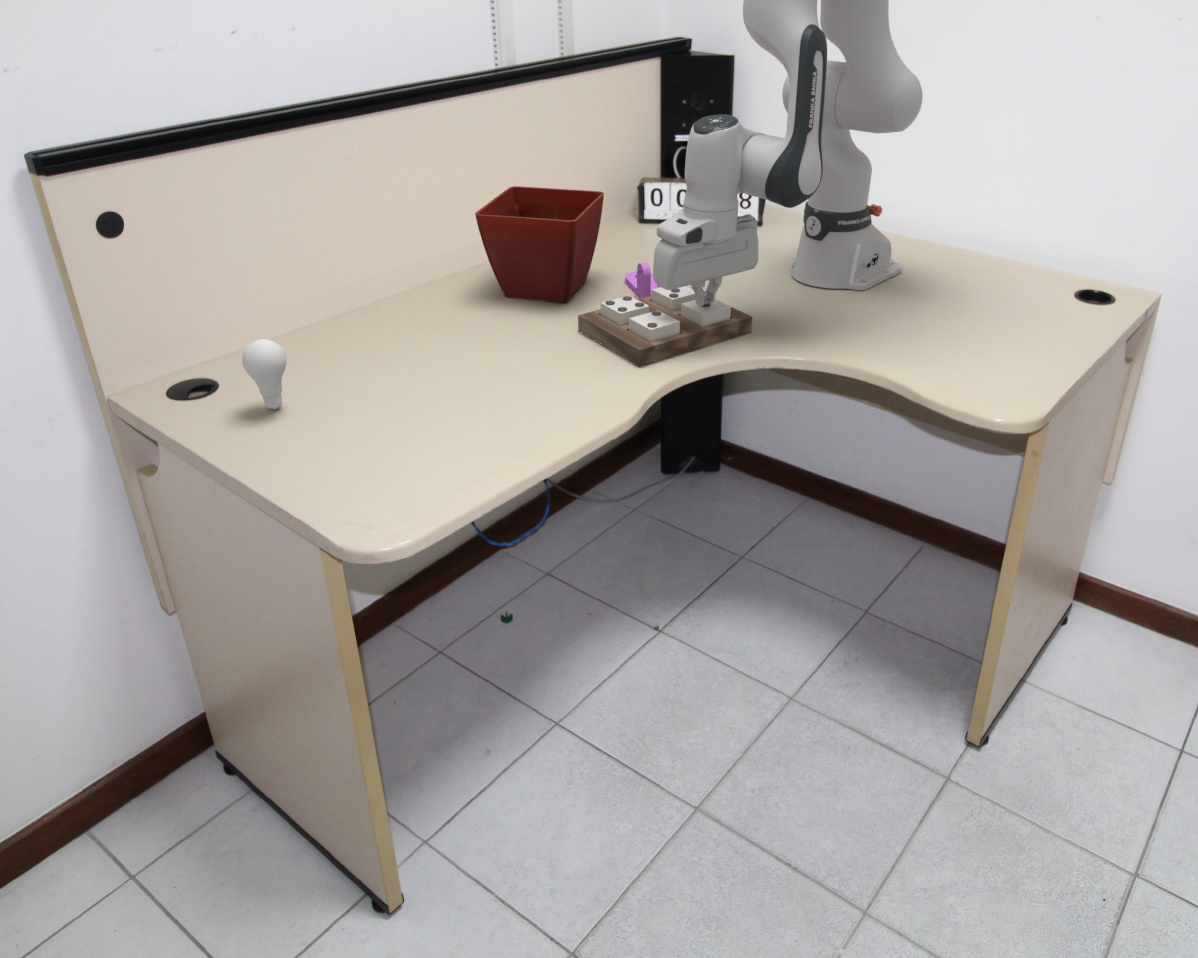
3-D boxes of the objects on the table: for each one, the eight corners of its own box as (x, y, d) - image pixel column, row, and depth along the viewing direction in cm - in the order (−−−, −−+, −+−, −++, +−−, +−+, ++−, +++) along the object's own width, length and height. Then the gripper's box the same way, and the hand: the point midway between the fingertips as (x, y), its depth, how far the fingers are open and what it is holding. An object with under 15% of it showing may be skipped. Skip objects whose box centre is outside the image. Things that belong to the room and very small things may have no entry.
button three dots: (677, 299, 175) (678, 281, 173) (698, 309, 170) (699, 291, 168) (651, 306, 172) (651, 288, 170) (671, 317, 167) (672, 298, 166)
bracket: (671, 299, 180) (672, 263, 176) (643, 303, 178) (643, 267, 175) (647, 276, 190) (648, 242, 187) (621, 280, 189) (621, 245, 185)
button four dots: (628, 312, 169) (628, 294, 168) (649, 323, 165) (649, 304, 163) (600, 320, 166) (600, 301, 165) (620, 331, 162) (620, 312, 160)
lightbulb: (258, 400, 146) (243, 333, 140) (299, 398, 146) (286, 331, 140) (249, 419, 141) (233, 350, 135) (291, 417, 141) (277, 348, 135)
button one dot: (707, 313, 169) (708, 295, 167) (729, 324, 164) (730, 305, 163) (680, 321, 166) (681, 302, 164) (702, 332, 162) (703, 313, 160)
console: (686, 301, 178) (686, 286, 177) (751, 332, 166) (752, 316, 164) (578, 331, 167) (578, 315, 165) (639, 367, 154) (639, 350, 153)
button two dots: (657, 328, 163) (657, 309, 162) (679, 339, 159) (680, 320, 157) (628, 336, 161) (629, 317, 159) (650, 348, 156) (650, 328, 155)
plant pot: (479, 302, 179) (472, 212, 170) (516, 268, 195) (511, 185, 186) (577, 312, 175) (574, 220, 166) (606, 277, 190) (605, 191, 181)
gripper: (744, 208, 163) (738, 286, 170) (648, 228, 153) (646, 310, 160) (770, 216, 158) (763, 296, 166) (673, 238, 149) (669, 321, 156)
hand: (705, 303), depth 163 cm, fingers closed
